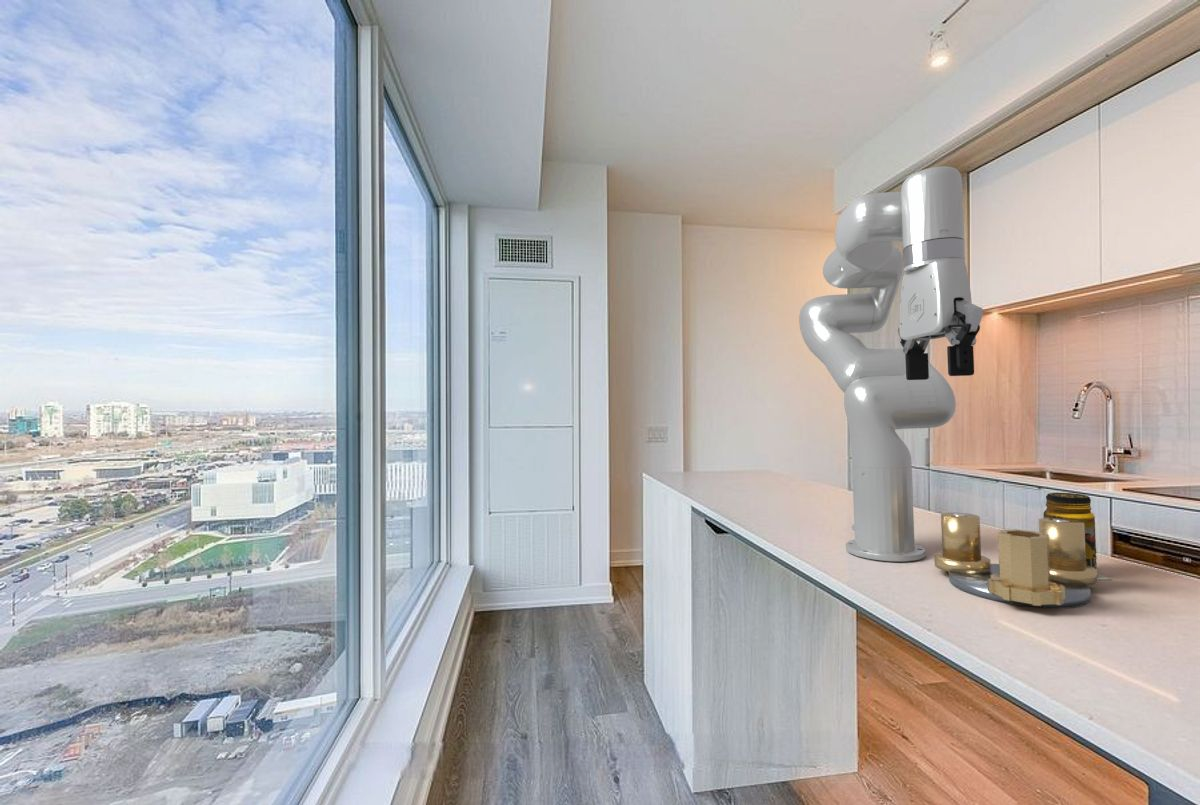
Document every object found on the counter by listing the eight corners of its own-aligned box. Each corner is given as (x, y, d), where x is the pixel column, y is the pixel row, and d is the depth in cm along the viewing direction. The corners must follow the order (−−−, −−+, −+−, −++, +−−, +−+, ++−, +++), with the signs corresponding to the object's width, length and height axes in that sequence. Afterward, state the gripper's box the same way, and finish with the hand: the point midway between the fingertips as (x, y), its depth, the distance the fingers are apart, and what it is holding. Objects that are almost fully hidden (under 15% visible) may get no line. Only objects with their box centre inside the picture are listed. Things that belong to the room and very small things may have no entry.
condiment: (1112, 580, 80) (1109, 498, 80) (1046, 578, 82) (1043, 498, 82) (1079, 566, 87) (1076, 490, 87) (1019, 564, 89) (1016, 490, 89)
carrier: (919, 569, 88) (917, 511, 88) (1033, 565, 88) (1031, 507, 88) (1002, 610, 70) (999, 536, 70) (1145, 604, 70) (1142, 531, 70)
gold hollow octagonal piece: (975, 586, 76) (973, 528, 76) (1031, 584, 76) (1029, 526, 76) (1019, 606, 68) (1016, 541, 68) (1081, 604, 68) (1078, 539, 68)
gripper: (876, 274, 87) (880, 381, 87) (946, 240, 70) (952, 374, 70) (922, 273, 87) (926, 380, 87) (1004, 239, 70) (1010, 373, 70)
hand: (938, 377), depth 78 cm, fingers open, 9 cm apart
